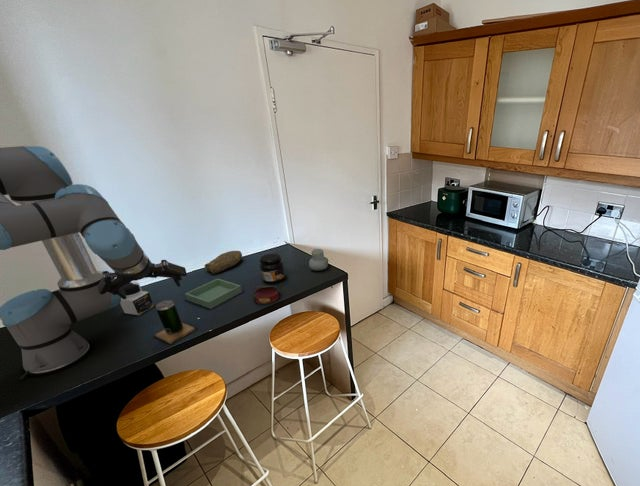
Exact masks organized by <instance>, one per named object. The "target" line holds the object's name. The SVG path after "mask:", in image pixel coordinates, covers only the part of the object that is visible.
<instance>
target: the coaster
mask: <svg viewBox="0 0 640 486" xmlns="http://www.w3.org/2000/svg"><path fill="white" fill-rule="evenodd" d="M182 325H183V330H182V331H181V332H180V333H178V334H176V335H168V334H166V332H165V329H163V330H161V331H160V332H157V333H156V334H154V336H155V338H158V339H160V340H161V341H164V342H166V343H167V344H173V343H175V342H177V341H178V340H180V339H182V338H184V337H185V336H187V335H189V334H191V333H193V332H195V331H196V328H195V327H194V326H191V325H190V324H187V323H185V322H182Z"/></svg>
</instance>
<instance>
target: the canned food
mask: <svg viewBox="0 0 640 486" xmlns="http://www.w3.org/2000/svg"><path fill="white" fill-rule="evenodd" d="M251 289H252V290H255V291H254V292H253V296H254V301H255V302H256V303H257V304H260V305H266V304H271V303H274V302H276V301H277V300H278V299H279V298H280V293H279V288H277V285H265V284H264V285H263V284H262V285H254V286H253V287H252V288H251Z"/></svg>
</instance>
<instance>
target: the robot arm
mask: <svg viewBox="0 0 640 486" xmlns="http://www.w3.org/2000/svg"><path fill="white" fill-rule="evenodd" d="M6 196H8V197H9V198H8V197H6ZM15 203H17V204H19V205H16V204H15ZM38 242H42V245H43V247H44V248H45V250H46V251H47V253H48V256H49V257H50V260H51V262H52V263H53V265H54V267H55V268H56V270H57V272H58V274H59V276H60V279H59V280H58V281H57V283H56V284H57V287H58V289H56V290H53V291H51V290H50V289H47V288H39V289H38V288H37V289H36V290H29V291H26V292H23V293H21V294H19V295H16V296H14V297H13V298H11V299H9V300H7V301H6V302H4V303H3V304H2V305H1V306H0V320H1V324H2V326H3V327H6V328H7V330H8V332H9V333H10V335H11V336H12V338H13V339H14V341H15V342H16V344H17V345H18V347H19V348H20V350H21V359H22V361H21V362H22V367H23V370H24V371H25V372H24V373H23V374H22V375H21V376H20V378H19V380H24V379H25V378H26V377H27V375H29V376H44V375H49V374H53V373H56V372H59V371H61V370H64V369H66V368H68V367H71V366H73V365H74V364H76V363H78V362H80V360H82V359H83V358H85V357H86V356H87V355H88V354H89V352H90V351H91V345H90V343H89V342H88V341H87V340H86V339H85V338H83V337H82V336H81V335H80V334H79V333H77V332H75V331H74V330H73V329H72V327H71V325H73V324H76V323H78V322H80V321H83V320H85V319H88V318H90V317H94V316H96V315H99V314H101V313H104V312H108V311H109V310H110V309H114V308H115V307H117V306H119V305H120V302H121V298H122V299H127V298H126V293H125V290H124V289H123V288H122V286H124V285H125V284H129V283H130V282H137V281H139V280H142V279H148V278H151V279H157V278H166V279H173V281H174V283H175V285H176V286H177V287H178V288H179V287H181V283H180V281H182V280H183V277H187V276H188V273H187V270H186V267H185V266H182V265H178V264H175V263H172V262H169V261H168V260H167V259H161V260H160V263H154V262H152V261H151V260H150V258H149V257H148V255H147V254H146V251H144V250H143V248H142V246H140V244H139V243H138V241H137V240H136V237H135V235H134V234H133V233H132V231H131V230H130V229H129V228H128V227H127V226H126V225H125V224H124V222H122V220H121V219H120V218H119V216H118V215H117V213H116V212H115V211H114V210H113V208H112V206H111V205H110V203H109V202H108V200H106V198H105V197H103V195H102V193H100V192H99V191H98V190H97V189H95V188H94V187H92V186H90V185H87V184H81V183H79V184H77V183H76V184H73V180H72V177H71V175H70V173H69V172H68V170H67V168H66V166H65V165H64V164H63V163H62V161H61V160H60V158H59V157H57V156H56V154H55V153H54V152H52V151H51V150H50V149H49V148H46V147H44V146H39V145H38V146H37V145H36V146H34V145H33V146H32V145H20V146H19V145H18V146H4V147H0V251H5V250H9V249H11V248H12V249H13V248H16V247H19V246H24V245H29V244H33V243H38ZM86 244H87V245H86ZM87 246H88V247H87ZM88 248H89V249H90V251H91V252H92V253H93V254H94V255H97V256H98V257H99V259H101V260H102V261H103V262H104V263H105V264H106V265H107V266H108V267H109V268H110V269H111V270H112V271H113V272H111V271H110V272H109V271H108V270H101V269H98V268H97V265H95V263H94V260H93V258H92V256H91V254H90V251H89V249H88Z"/></svg>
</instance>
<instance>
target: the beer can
mask: <svg viewBox="0 0 640 486" xmlns="http://www.w3.org/2000/svg"><path fill="white" fill-rule="evenodd" d="M155 310H156V313H157V315H158V318H159V320H160V322H161V324H162V327H163V330H165V332H166V334H168V335H176V334H178V333H180V332H181V331H182V330H183V325H182V323H183V322H182V320H181V318H180V315H179V312H178V309H177V306H176V304H175V302H174V301H173V300H172V299H165V300H161V301H160V302H157V303H156V304H155Z"/></svg>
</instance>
